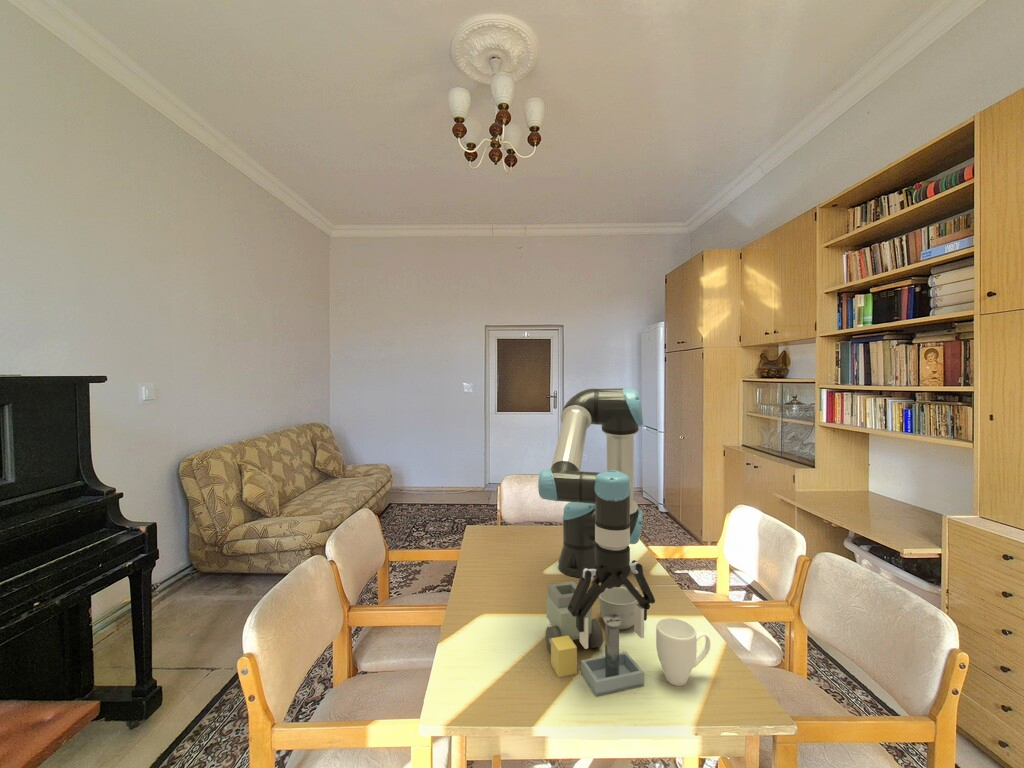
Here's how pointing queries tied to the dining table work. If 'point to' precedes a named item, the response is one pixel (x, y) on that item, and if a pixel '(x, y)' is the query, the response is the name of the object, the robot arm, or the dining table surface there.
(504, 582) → the dining table surface
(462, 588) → the dining table surface
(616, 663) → the flashlight
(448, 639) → the dining table surface
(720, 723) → the dining table surface
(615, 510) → the robot arm
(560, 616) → the trolley
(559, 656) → the block
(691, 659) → the mug
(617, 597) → the teacup
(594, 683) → the tray
